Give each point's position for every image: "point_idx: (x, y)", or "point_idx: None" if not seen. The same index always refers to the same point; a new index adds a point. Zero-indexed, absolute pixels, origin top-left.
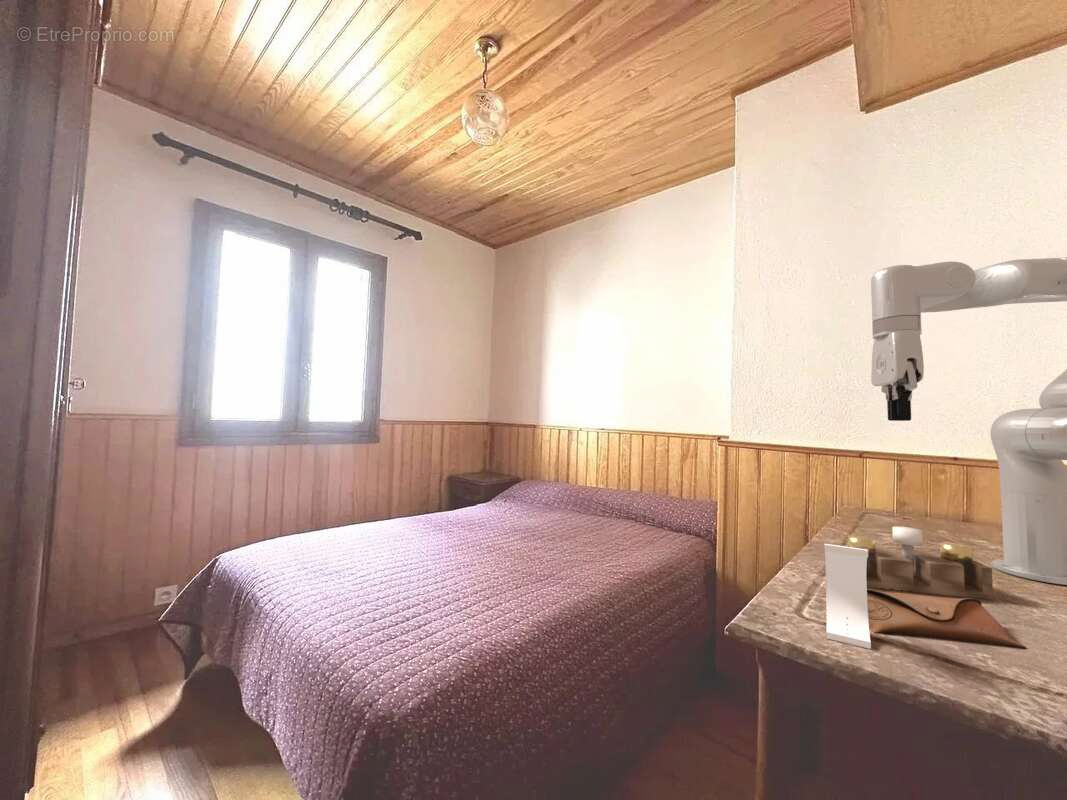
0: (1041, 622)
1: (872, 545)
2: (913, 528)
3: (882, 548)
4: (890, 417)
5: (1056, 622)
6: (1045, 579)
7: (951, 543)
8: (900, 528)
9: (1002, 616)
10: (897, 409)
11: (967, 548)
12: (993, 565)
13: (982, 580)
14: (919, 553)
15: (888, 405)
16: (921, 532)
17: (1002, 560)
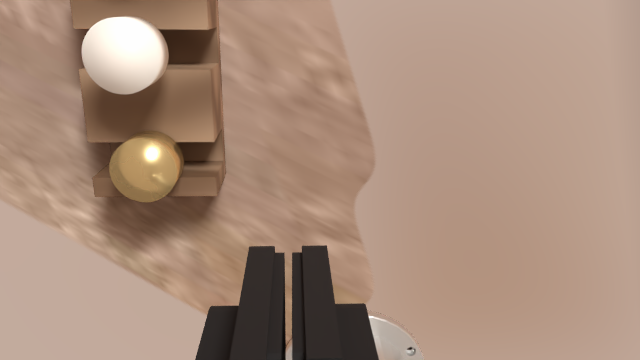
0: (7, 182)
1: None
2: (141, 83)
3: (205, 12)
4: (276, 253)
5: (21, 209)
6: (287, 347)
7: (157, 168)
8: (122, 39)
9: (9, 130)
10: (215, 333)
11: (111, 179)
12: (379, 314)
13: (103, 168)
14: (181, 94)
15: (309, 320)
16: (97, 83)
17: (403, 346)
